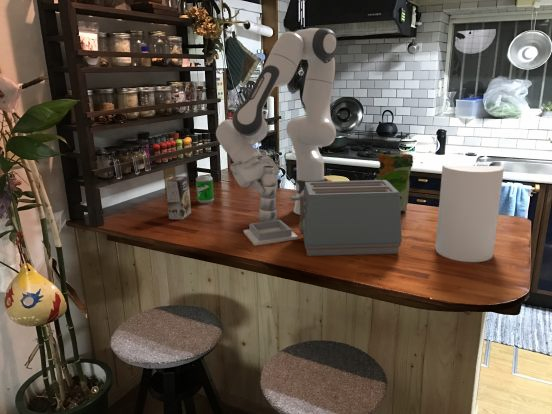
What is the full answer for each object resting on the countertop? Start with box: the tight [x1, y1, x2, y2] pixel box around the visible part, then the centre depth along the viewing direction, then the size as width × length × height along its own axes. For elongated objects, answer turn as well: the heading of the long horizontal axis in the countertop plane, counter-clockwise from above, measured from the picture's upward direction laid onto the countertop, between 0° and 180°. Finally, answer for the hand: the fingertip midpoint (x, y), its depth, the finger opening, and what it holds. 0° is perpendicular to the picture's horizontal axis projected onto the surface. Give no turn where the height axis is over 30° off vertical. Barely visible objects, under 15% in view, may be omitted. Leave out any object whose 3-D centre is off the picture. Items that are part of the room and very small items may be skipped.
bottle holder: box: [243, 219, 299, 246], centre depth 164 cm, size 16×14×4 cm
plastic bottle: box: [258, 166, 278, 222], centre depth 160 cm, size 6×7×20 cm
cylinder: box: [435, 165, 505, 263], centre depth 143 cm, size 17×17×28 cm
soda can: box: [195, 174, 215, 204], centre depth 208 cm, size 8×8×12 cm
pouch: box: [376, 152, 414, 213], centre depth 184 cm, size 11×12×25 cm
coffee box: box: [165, 175, 192, 221], centre depth 187 cm, size 9×6×16 cm
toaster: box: [290, 179, 403, 257], centre depth 152 cm, size 19×35×20 cm, turn 91°
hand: (269, 190), depth 159 cm, fingers closed on plastic bottle, 6 cm apart
